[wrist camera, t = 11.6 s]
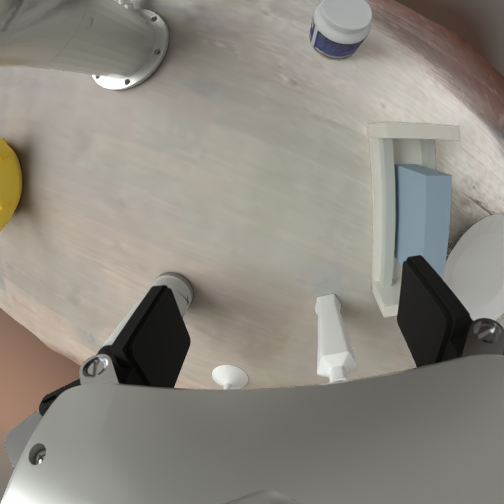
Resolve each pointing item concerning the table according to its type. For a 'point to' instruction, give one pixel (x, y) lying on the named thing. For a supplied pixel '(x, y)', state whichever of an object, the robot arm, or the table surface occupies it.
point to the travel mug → (171, 280)
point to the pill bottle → (339, 27)
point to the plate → (479, 268)
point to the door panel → (422, 214)
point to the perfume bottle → (333, 341)
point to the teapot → (9, 182)
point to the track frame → (383, 192)
